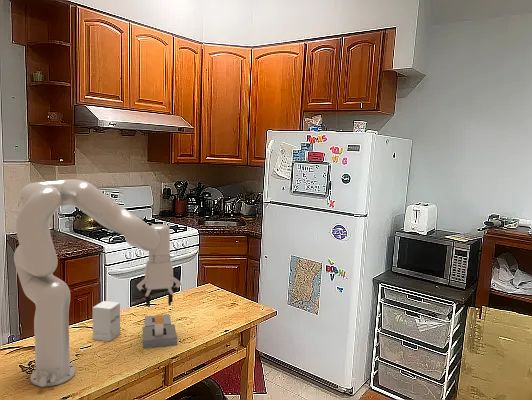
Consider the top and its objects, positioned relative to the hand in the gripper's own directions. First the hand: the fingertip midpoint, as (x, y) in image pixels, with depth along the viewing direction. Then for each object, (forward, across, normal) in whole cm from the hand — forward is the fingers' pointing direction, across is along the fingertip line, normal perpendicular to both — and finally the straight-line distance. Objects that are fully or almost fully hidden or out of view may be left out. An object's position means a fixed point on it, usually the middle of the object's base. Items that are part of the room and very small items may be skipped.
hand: (159, 304), depth 161 cm
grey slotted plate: (+14, 0, -14) cm, 20 cm away
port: (+14, 0, 0) cm, 14 cm away
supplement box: (+14, +19, -7) cm, 25 cm away
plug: (+14, 0, 0) cm, 14 cm away
